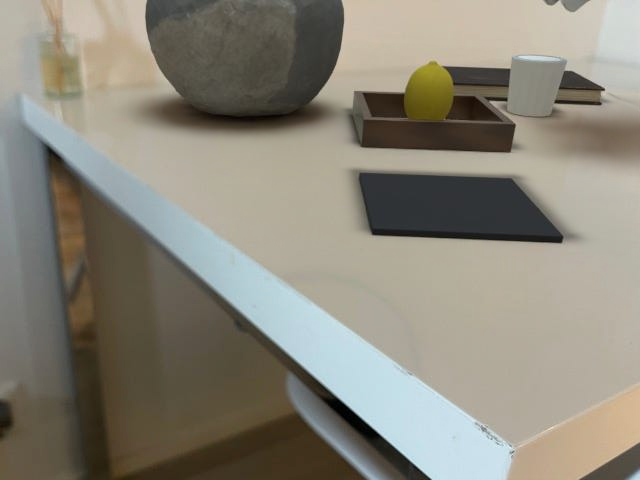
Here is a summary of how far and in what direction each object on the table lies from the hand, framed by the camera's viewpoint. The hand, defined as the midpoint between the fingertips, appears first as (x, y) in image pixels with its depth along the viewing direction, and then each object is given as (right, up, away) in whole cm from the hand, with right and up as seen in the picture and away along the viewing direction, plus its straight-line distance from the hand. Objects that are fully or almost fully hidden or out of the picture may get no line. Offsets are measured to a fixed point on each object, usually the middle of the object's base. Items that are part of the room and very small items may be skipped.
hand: (554, 3), depth 71 cm
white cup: (+5, -7, +18) cm, 20 cm away
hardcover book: (+7, 0, +32) cm, 32 cm away
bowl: (-34, -7, +16) cm, 38 cm away
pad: (-16, -24, -16) cm, 32 cm away
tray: (-12, -12, +7) cm, 19 cm away
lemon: (-12, -12, +8) cm, 19 cm away
